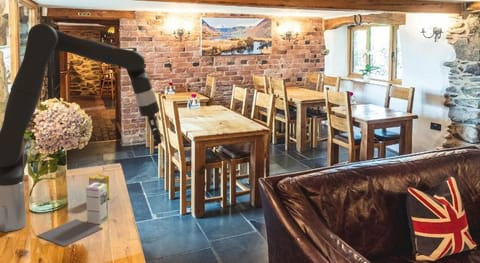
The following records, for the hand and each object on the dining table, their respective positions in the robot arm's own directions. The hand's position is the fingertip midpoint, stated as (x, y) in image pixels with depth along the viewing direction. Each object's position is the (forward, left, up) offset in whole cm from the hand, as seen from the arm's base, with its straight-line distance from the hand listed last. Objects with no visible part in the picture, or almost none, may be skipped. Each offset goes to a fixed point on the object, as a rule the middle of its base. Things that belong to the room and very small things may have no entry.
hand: (158, 140), depth 169 cm
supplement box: (-5, +28, -30) cm, 42 cm away
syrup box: (-21, +13, -30) cm, 39 cm away
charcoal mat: (-33, +13, -30) cm, 47 cm away
